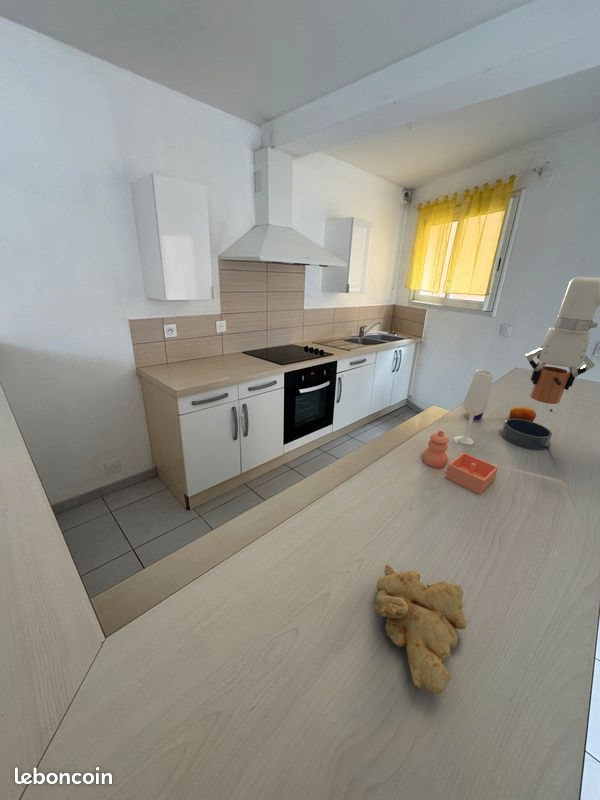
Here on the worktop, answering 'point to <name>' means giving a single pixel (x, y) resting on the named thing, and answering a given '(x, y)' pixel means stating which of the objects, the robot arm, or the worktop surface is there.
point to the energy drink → (475, 417)
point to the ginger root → (421, 623)
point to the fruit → (522, 413)
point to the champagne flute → (476, 400)
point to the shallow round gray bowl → (526, 434)
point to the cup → (550, 385)
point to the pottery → (459, 465)
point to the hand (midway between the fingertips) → (549, 385)
